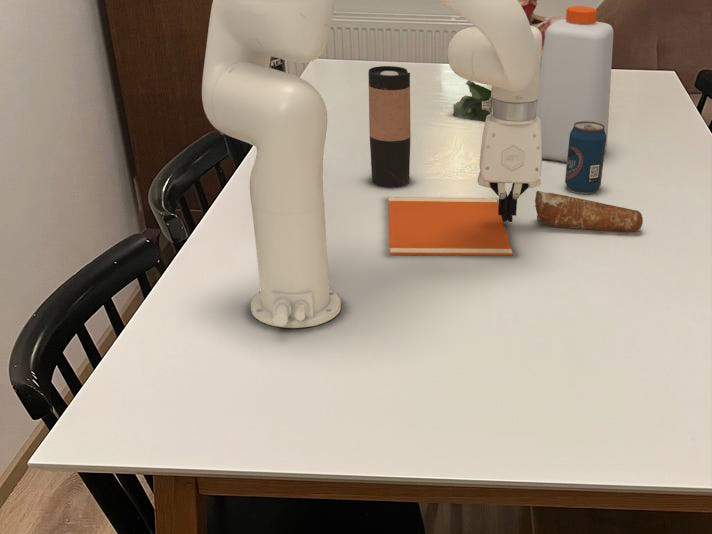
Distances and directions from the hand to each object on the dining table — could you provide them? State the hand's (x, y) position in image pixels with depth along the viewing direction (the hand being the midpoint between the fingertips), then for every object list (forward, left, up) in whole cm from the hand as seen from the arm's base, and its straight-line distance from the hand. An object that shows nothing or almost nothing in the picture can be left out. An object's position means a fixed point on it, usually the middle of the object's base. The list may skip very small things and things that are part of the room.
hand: (506, 219), depth 161 cm
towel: (0, +10, -1) cm, 10 cm away
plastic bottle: (+43, -18, -2) cm, 47 cm away
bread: (0, -14, -2) cm, 14 cm away
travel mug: (+23, +20, -2) cm, 31 cm away
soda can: (+20, -17, -2) cm, 26 cm away
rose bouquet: (+77, -11, -2) cm, 78 cm away
